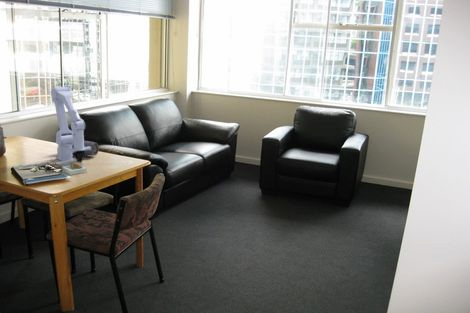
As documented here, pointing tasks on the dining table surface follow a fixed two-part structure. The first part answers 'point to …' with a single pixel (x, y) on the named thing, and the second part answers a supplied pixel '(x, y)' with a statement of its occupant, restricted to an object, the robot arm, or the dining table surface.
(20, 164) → the dining table surface
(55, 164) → the bar
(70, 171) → the tray
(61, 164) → the slab
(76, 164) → the roller
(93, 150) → the bluetooth speaker
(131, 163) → the dining table surface
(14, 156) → the dining table surface
